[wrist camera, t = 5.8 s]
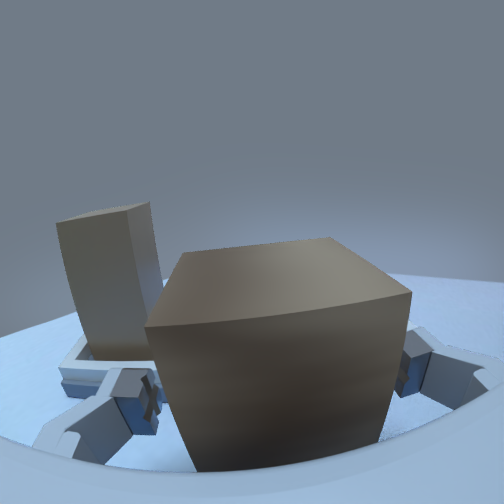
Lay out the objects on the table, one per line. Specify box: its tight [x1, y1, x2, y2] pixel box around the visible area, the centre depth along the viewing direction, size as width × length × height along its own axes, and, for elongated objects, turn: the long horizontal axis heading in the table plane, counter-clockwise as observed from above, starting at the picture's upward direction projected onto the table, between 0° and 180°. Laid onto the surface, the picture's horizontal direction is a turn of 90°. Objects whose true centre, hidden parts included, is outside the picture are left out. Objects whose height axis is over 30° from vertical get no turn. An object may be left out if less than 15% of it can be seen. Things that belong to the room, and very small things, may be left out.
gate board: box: [56, 202, 418, 402], centre depth 20 cm, size 24×12×11 cm, turn 95°
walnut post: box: [144, 237, 412, 472], centre depth 9 cm, size 5×5×10 cm
